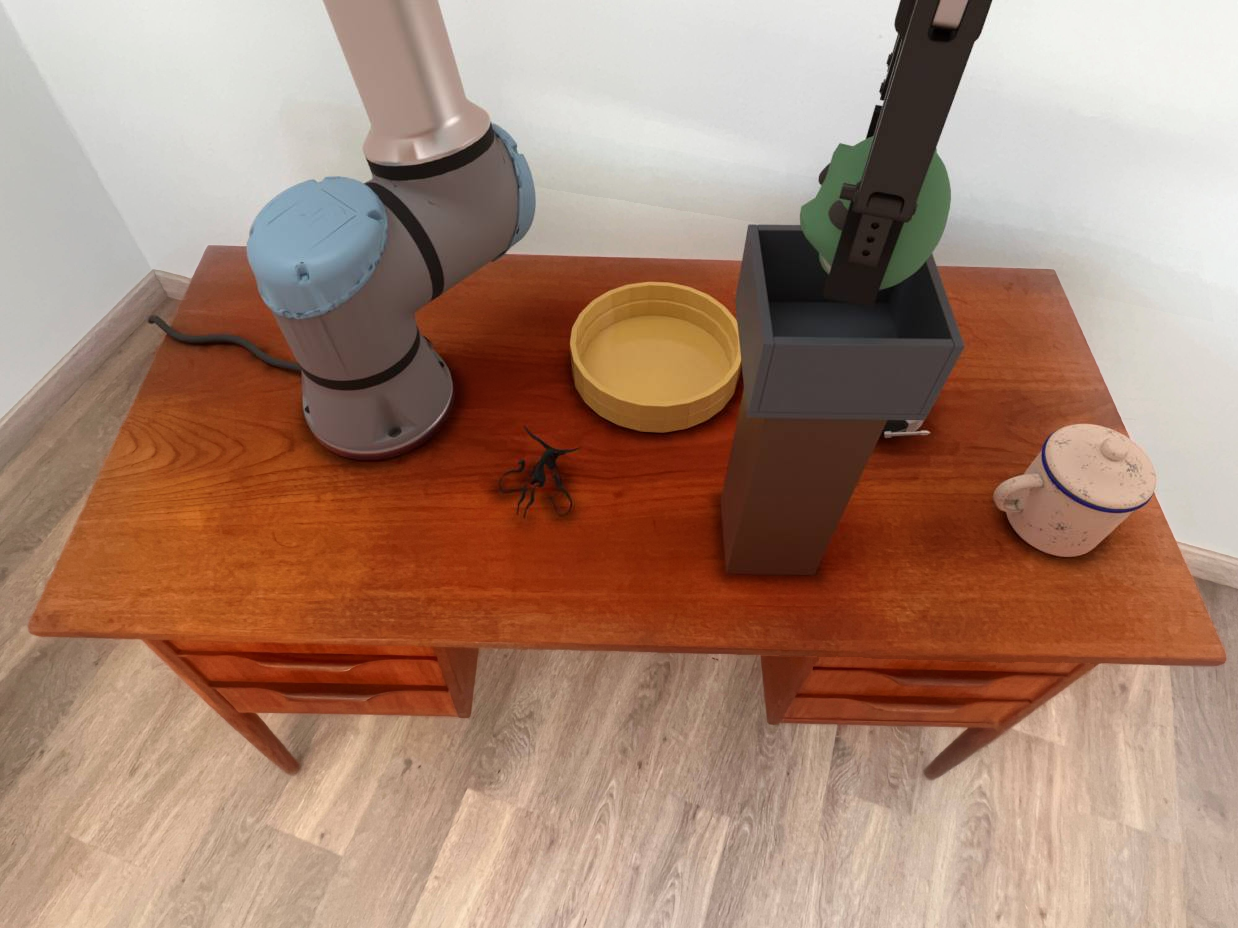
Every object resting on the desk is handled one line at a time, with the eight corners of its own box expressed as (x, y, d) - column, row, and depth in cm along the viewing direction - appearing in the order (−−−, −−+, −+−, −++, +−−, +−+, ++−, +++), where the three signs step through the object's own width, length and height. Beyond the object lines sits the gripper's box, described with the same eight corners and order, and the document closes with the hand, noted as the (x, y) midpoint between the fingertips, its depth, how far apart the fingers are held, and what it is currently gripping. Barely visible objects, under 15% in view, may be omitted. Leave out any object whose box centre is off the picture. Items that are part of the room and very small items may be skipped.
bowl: (547, 408, 78) (544, 380, 74) (604, 297, 88) (603, 267, 84) (714, 453, 75) (719, 425, 71) (753, 332, 85) (760, 302, 81)
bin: (708, 587, 66) (764, 343, 41) (703, 487, 72) (748, 223, 47) (834, 589, 66) (965, 346, 41) (817, 489, 72) (923, 226, 47)
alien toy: (778, 240, 46) (813, 78, 38) (902, 239, 46) (963, 77, 38) (796, 319, 42) (839, 156, 34) (931, 318, 42) (1007, 155, 34)
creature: (560, 537, 70) (595, 466, 73) (550, 519, 65) (588, 443, 68) (489, 508, 72) (526, 440, 75) (474, 487, 67) (514, 415, 70)
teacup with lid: (1076, 476, 73) (1145, 400, 64) (1119, 558, 68) (1200, 487, 58) (958, 483, 73) (1009, 407, 63) (991, 565, 67) (1052, 496, 58)
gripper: (1209, -228, 18) (906, 395, 37) (1146, -359, 29) (938, 172, 48) (893, -254, 19) (757, 359, 38) (948, -369, 30) (821, 150, 49)
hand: (858, 254), depth 43 cm, fingers closed on alien toy, 7 cm apart
